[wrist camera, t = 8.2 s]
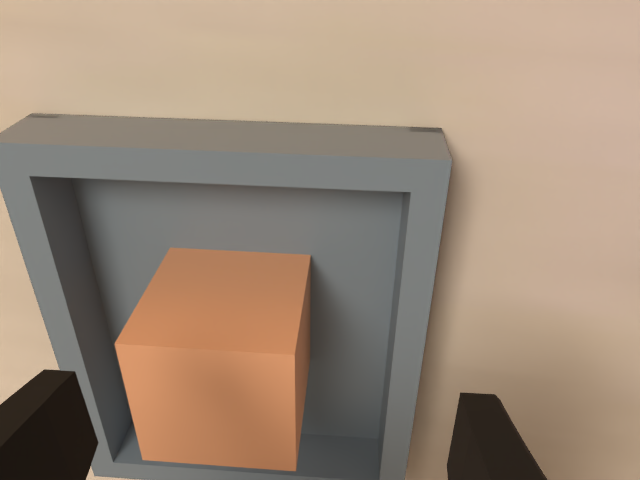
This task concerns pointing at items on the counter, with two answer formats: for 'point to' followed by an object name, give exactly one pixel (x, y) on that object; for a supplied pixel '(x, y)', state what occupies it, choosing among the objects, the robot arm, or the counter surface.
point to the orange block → (220, 358)
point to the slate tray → (238, 235)
